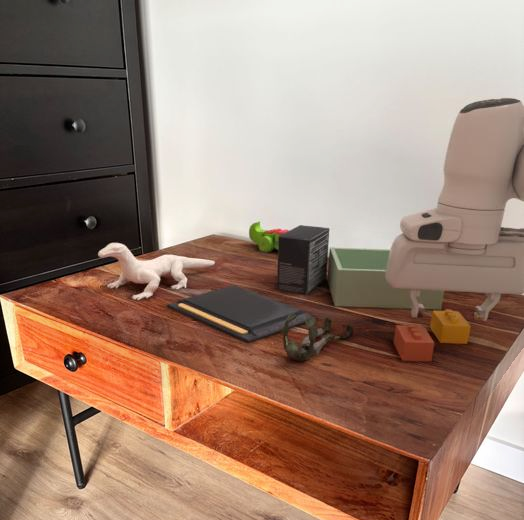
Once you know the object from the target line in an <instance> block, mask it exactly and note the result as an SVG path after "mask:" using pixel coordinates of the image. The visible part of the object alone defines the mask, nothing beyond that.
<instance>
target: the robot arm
mask: <svg viewBox="0 0 524 520" xmlns="http://www.w3.org/2000/svg"><path fill="white" fill-rule="evenodd" d="M449 135H450V136H449V139H448V144H447V147H446V152H445V158H444V163H443V185H442V188H441V191H440V192H439V196H438V198H437V204H436V207H433V208H430V209H427V210H424V211H420V212H415V213H411V214H408V215H404V216H403V217H401V219H400V223H399V228H400V229H399V230H400V231H401V232H402V233H400V234H399V235H397V236H396V237H395V238H394V239H393V241H392V243H391V246H390V253H389V256H388V260H387V265H386V270H385V278H386V281H387V282H388V284H389V285H390V286H391V287H392V288H394V289H407V293H408V295H409V298H410V300H411V302H412V309H411V311H410V316H411V317H412V318H413V319H415V318H416V319H424V316H425V314H424V313H425V310H426V309H425V307H424V306H423V304H419V303H418V302H417V299H416V297H415V296H418V297H419V296H420V291H421V290H435V291H444V292H458V293H478V294H479V293H481V294H485V296H486V299H485V300H484V302H482V304H481V305H475V306H474V312H473V319H474V320H475V321H478V322H487V321H488V318H489V313H490V311H491V310H492V309H493V308H494V307H495V306H496V305H498V303H499V302H500V300H501V298H502V297H501V296H502V294H503V295H523V294H524V228H523V227H520V228H513V227H505V226H502V223H503V220H504V215H505V210H506V205H507V203H508V201H509V200H511V199H516V200H519V201H521V202H524V104H523V102H522V101H521V100H520V99H517V98H512V97H501V98H491V99H484V100H477V101H474V102H471V103H468V104H466V105H465V106H464V107H463V108H461V109H460V111H459V112H458V113H457V116H456V117H455V120H454V122H453V125H452V129H451V131H450V134H449Z"/></svg>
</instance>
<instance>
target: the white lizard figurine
mask: <svg viewBox="0 0 524 520" xmlns="http://www.w3.org/2000/svg"><path fill="white" fill-rule="evenodd" d="M97 256H98V257H99V258H100V259H104V258H108V257H112V258H115V259H117V260H118V261H117V262H118V263H119V266H120V269H121V272H120V273H119V277H118V280H116V281H113V282H110V283H108V284H107V288H109V289H113V288H115V289H116V290H117V289H118V288H119V287H121V286H124V285H126V282H127V281H131V282H133V283H135V284H147V285H146V287H145V288H144V289H143V291H142V292H141V293H138V294H133V295H132V297H131V299H133V300H137V301H140V300H142V299H144V298H146V299H148V298H150V297H152V296H153V295H154V292H156V290H157V289H158V288H159V285H160V283H161V277H162V276H165V275H168V274H170V276H171V277H172V278H173V279H174V280H175V281H176V282H177V284H173V285H171V286H170V288H171V289H175V290H179V289H182V288H184V289H187V284H188V277H186V275H185V274H184V272H183V270H197V269H198V270H199V269H205V268H210V267H213V266H214V265H215V263H216V262H215V260H211V259H205V258H195V257H194V258H193V257H187V256H184V255H183V256H181V255H176V254H163V255H160V256H158V257H155V258H152V259H147V260H141V259H137V258H136V257H135V256H134V254H133V253H132V252H131V250H130V249H129V248H128V247H127V246H126V245H125V244H123V243H119V242H110V243H108V244H107V245H106V246H105V247H104V248H102V249H100V250H99V251H98V253H97Z"/></svg>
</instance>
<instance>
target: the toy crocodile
mask: <svg viewBox="0 0 524 520" xmlns="http://www.w3.org/2000/svg"><path fill="white" fill-rule="evenodd" d="M288 231H290V230H289V229H282V228H273V229H263V228H262V227H261V221H256V222H254V223H252V224H251V225H250V226H249V228H248V236H249V239H250V241H252V242H253V243H255V244H257V247H258V249H259V251H260V252H262V253H271V252H273V250H274V249H275V250H277V251H278V236H280V235H282V234H284V233H286V232H288Z"/></svg>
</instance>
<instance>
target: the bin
mask: <svg viewBox="0 0 524 520" xmlns="http://www.w3.org/2000/svg"><path fill="white" fill-rule="evenodd" d="M390 249H391V248H390ZM390 249H386V248H362V247H361V248H360V247H359V248H358V247H329V251H328V263H327V280H326V281H327V285H328V288H329V290H330V294H331V298H332V302H333V305H334V307H352V308H353V307H354V308H378V309H379V308H382V309H411V310H412V302H411V300H410V298H409V295H408V293H407V289H394V288H392V287H391V286H390V285H389V284H388V282H387V281H386V278H385V270H386V265H387V260H388V256H389V253H390ZM444 296H445V291H435V290H421V291H420V296H419V297H418V296H415V297H416V299H417V302H418V303H419V304H423V306H424V307H425V310H439V311H442V305H443V301H444Z"/></svg>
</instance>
